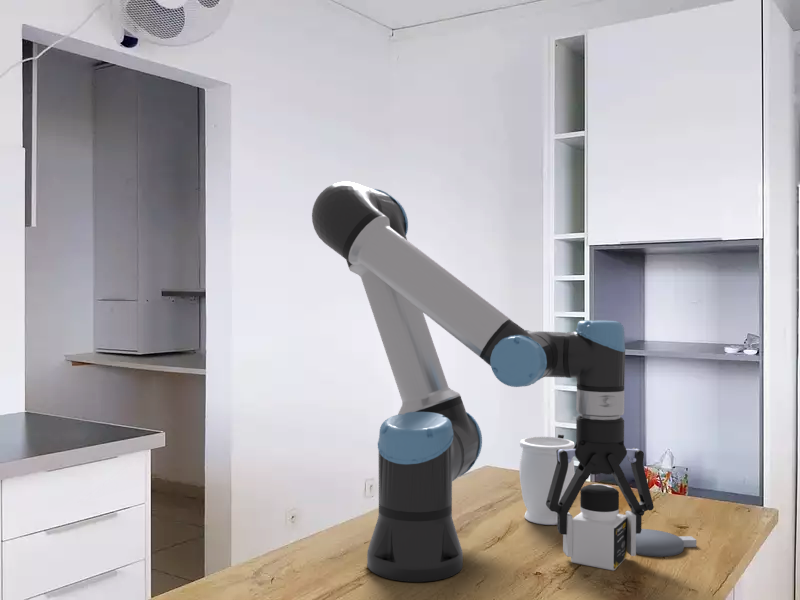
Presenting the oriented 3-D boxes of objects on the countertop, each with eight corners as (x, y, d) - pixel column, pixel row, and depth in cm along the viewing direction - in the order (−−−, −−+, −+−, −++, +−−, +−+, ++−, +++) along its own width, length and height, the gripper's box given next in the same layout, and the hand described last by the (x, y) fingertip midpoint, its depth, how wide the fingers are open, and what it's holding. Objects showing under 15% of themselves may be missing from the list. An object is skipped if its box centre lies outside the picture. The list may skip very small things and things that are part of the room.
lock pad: (615, 557, 127) (615, 549, 127) (591, 532, 140) (591, 525, 140) (708, 555, 127) (708, 548, 127) (675, 531, 141) (675, 524, 141)
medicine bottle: (614, 571, 120) (615, 494, 120) (570, 562, 124) (570, 488, 124) (627, 558, 126) (627, 485, 126) (584, 550, 130) (585, 479, 130)
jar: (574, 529, 142) (575, 447, 141) (517, 525, 144) (518, 445, 143) (573, 513, 152) (574, 437, 152) (520, 509, 154) (520, 434, 154)
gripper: (537, 419, 120) (536, 562, 121) (677, 419, 122) (675, 560, 122) (526, 412, 128) (525, 546, 128) (658, 411, 129) (657, 544, 129)
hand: (599, 553), depth 125 cm, fingers closed on medicine bottle, 10 cm apart
